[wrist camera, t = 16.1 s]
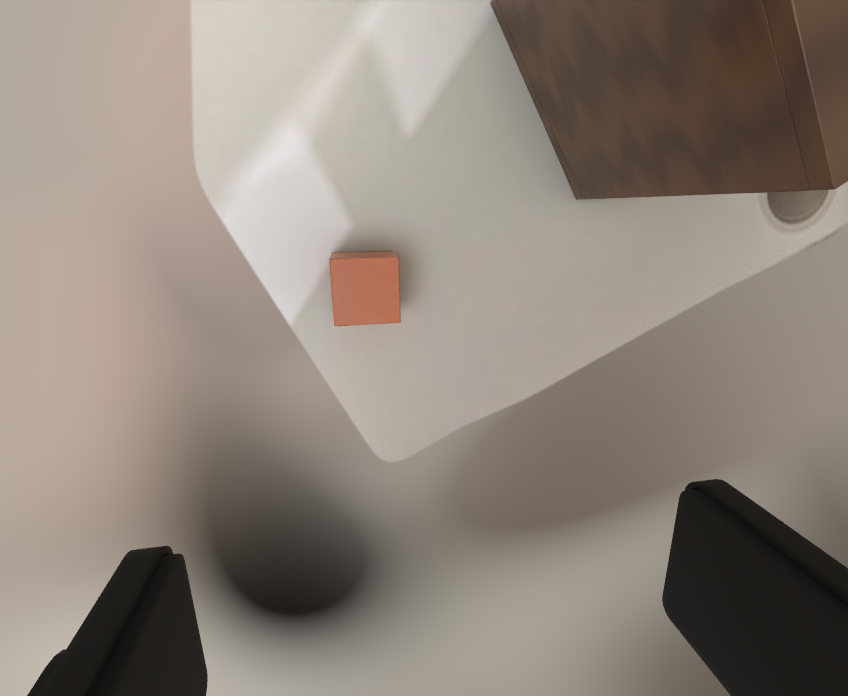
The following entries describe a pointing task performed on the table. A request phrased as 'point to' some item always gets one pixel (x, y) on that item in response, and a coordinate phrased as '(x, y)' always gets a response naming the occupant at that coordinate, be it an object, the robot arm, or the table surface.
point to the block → (365, 287)
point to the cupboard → (687, 92)
